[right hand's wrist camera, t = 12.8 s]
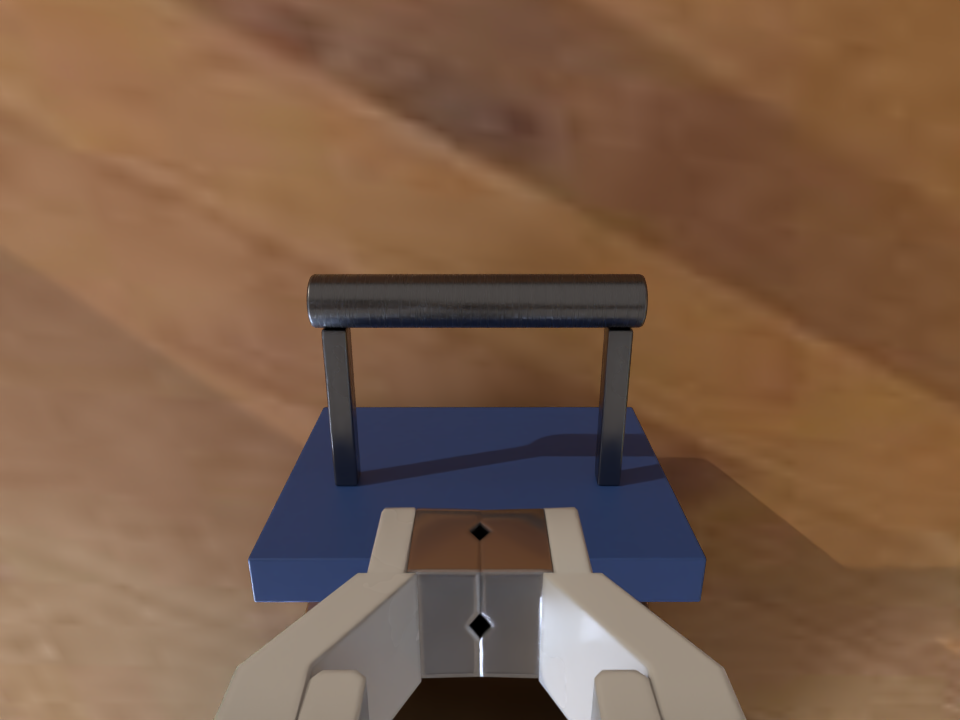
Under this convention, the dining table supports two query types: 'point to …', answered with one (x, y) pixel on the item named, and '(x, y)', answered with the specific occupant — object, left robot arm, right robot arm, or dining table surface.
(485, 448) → the drawer
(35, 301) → the dining table surface
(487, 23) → the dining table surface
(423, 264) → the dining table surface
